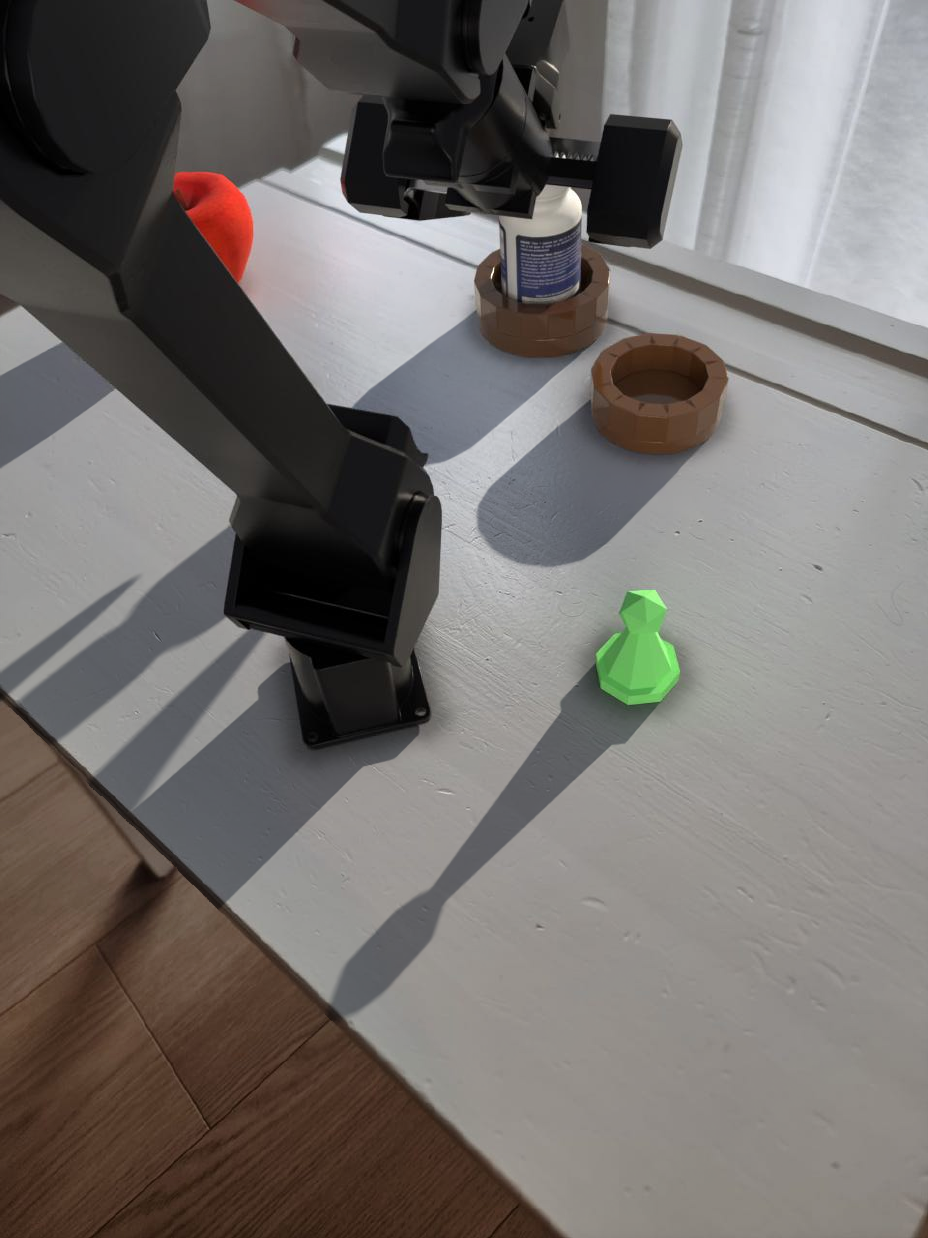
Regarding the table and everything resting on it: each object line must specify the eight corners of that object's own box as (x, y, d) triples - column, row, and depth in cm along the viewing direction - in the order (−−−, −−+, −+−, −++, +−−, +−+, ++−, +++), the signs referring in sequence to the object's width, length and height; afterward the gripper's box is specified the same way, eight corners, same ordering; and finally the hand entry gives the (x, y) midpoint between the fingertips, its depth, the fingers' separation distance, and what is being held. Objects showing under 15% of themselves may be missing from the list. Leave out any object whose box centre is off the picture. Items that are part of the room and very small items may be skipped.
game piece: (696, 684, 50) (711, 609, 46) (623, 719, 49) (631, 646, 45) (648, 626, 53) (658, 549, 48) (578, 658, 52) (581, 583, 47)
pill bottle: (596, 299, 69) (601, 161, 62) (542, 334, 67) (541, 195, 60) (540, 271, 72) (539, 135, 64) (486, 303, 70) (479, 167, 62)
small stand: (742, 438, 62) (750, 400, 59) (613, 466, 61) (615, 428, 58) (693, 361, 67) (698, 322, 64) (573, 386, 66) (573, 348, 64)
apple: (287, 267, 77) (265, 169, 71) (227, 332, 72) (198, 232, 66) (191, 249, 80) (162, 152, 74) (127, 310, 75) (90, 212, 69)
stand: (625, 343, 68) (628, 298, 66) (496, 369, 68) (493, 325, 65) (584, 272, 74) (585, 228, 71) (464, 295, 73) (461, 252, 71)
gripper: (696, -50, 45) (711, 95, 60) (326, -68, 50) (425, 71, 65) (644, 201, 47) (671, 282, 62) (289, 161, 52) (394, 245, 67)
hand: (537, 214), depth 64 cm, fingers open, 9 cm apart
